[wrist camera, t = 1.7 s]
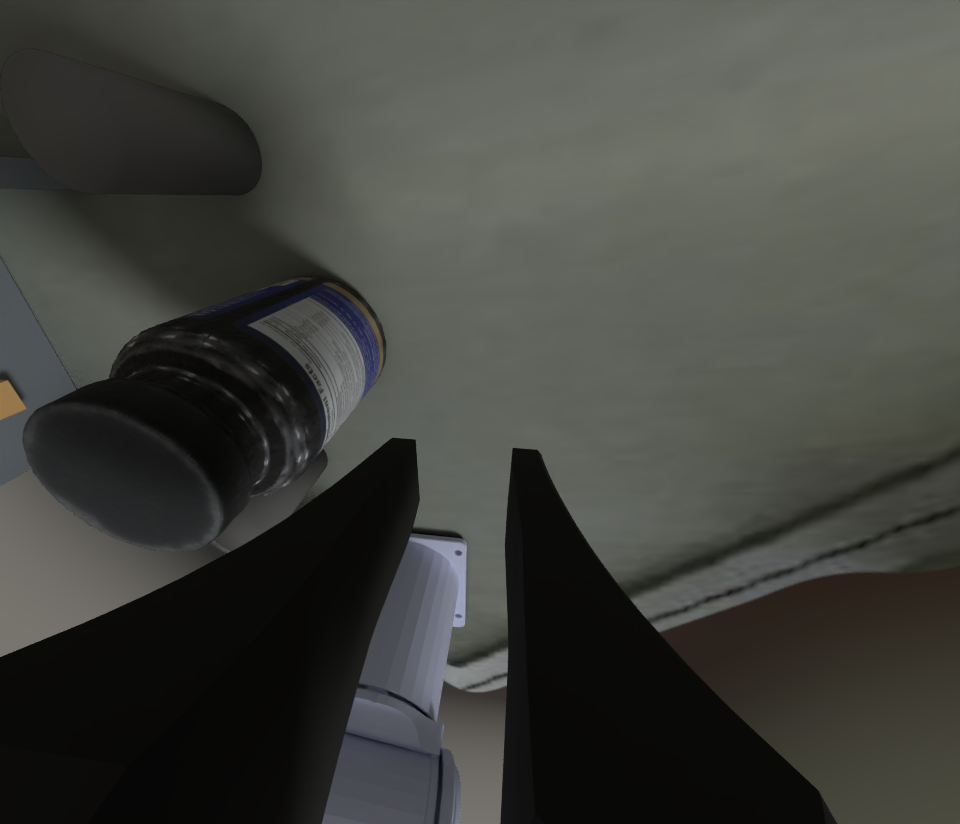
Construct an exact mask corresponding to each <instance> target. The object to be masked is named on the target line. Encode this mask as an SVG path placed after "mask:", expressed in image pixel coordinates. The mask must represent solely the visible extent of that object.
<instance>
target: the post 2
mask: <svg viewBox="0 0 960 824" xmlns="http://www.w3.org/2000/svg"><path fill="white" fill-rule="evenodd" d="M327 463H328V459H327V455H326V453H325V451H324V449H322V450H321V451H320V453H319V454H318V455H317V457H316V458H315V459H314V460H313V462H312V463H311V464H310V466H309V467H308V468H307V470H306V471H305V472H304V473H303V475H301V476H300V477H299V478H298V479H297V480H296V481H295V482H293V483H292V484H290V485H288V486H286V487H285V488H283V489H282V490H279V491H276V492H274V493H271V494H268V495H265V496H260V497H252V498H250V500H249V502H248V504H247V506H246V507H245V508H244V510H243V511H242V512H241V513H240V514H239V515H238V516H237V517H235V518H234V519H233V520H232V522H231V523H230V524H229V525H228V527H227V528H226V529H225V530H224V531H223V532H222V533H221V534H220V535H219V536H218V537H217V538H215V539H214V540H215V541H216V542H217V543H218V544H220V545H221V546H223V547H224V548H226V549H228V550H230V551H233V550H235V549H237V548H238V547H240V546H242V545H244V544H245V543H247V542H249V541H250V540H252V539H254V538H255V537H257V536H259V535H260V534H262V533H264V532H265V531H267V530H269V529H270V528H272V527H274V526H275V525H277V524H278V523H280V522H281V521H283V520H284V519H286V518H288V517H289V516H291V515H292V513H293V512H294V510H295V509H296V508H297V506H298V505H299V504H300V502H301V501H302V500H303V498H304V497H305V495H306V494H307V493H308V491H309V490H310V489H311V487H312V486H313V485H314V483H315V482H316V480H317V479H318V478H319V476H320V475H321V474H322V472H323V471H324V470H325V468H326V466H327Z"/></svg>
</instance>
